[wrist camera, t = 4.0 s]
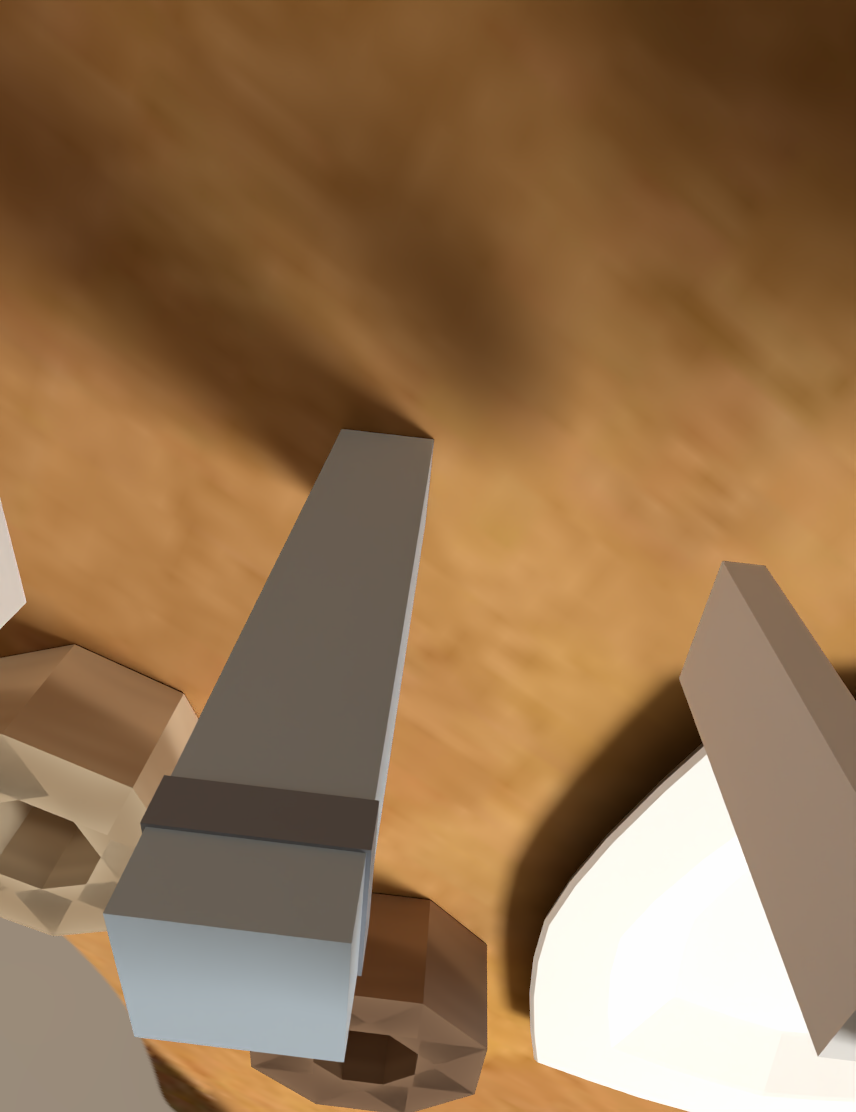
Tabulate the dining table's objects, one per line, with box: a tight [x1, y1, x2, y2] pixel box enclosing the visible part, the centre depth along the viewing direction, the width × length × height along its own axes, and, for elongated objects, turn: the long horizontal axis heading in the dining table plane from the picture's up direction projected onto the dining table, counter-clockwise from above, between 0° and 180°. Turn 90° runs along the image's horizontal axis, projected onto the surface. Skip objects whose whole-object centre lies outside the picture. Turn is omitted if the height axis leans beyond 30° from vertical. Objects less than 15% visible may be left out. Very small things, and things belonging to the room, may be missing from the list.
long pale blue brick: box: [103, 429, 434, 1062], centre depth 12 cm, size 2×2×12 cm
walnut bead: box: [250, 893, 487, 1112], centre depth 26 cm, size 8×8×4 cm
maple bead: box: [0, 644, 198, 936], centre depth 21 cm, size 8×8×4 cm
